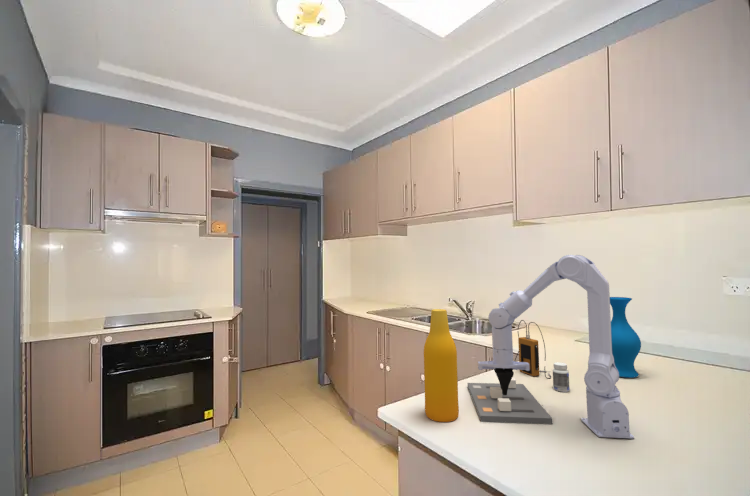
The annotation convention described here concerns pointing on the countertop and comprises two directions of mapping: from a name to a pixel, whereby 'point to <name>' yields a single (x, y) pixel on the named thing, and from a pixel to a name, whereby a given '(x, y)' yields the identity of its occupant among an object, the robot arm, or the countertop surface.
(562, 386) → the pill bottle
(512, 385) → the block
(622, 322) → the vase
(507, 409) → the white block
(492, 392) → the middle tab
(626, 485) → the countertop surface
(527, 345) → the multimeter
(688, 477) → the countertop surface
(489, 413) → the switch board
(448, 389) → the beer bottle
